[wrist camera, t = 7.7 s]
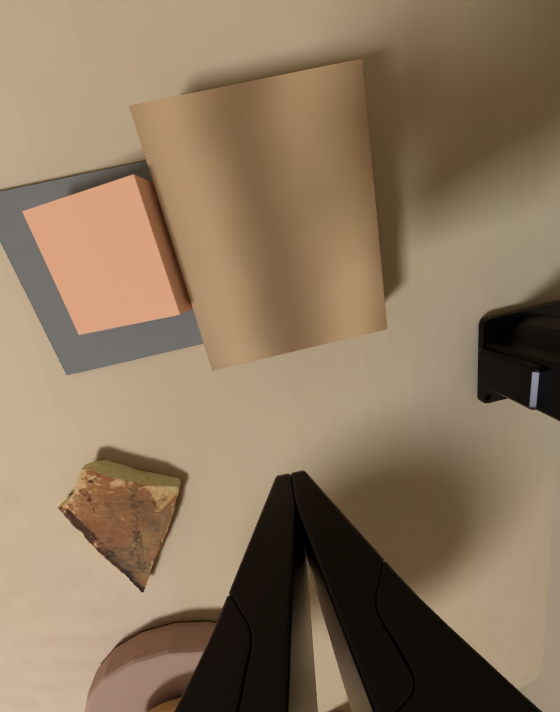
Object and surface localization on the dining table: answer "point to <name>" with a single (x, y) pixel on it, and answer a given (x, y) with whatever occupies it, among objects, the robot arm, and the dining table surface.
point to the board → (271, 209)
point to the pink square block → (111, 255)
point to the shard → (123, 514)
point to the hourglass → (149, 669)
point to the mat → (74, 351)
